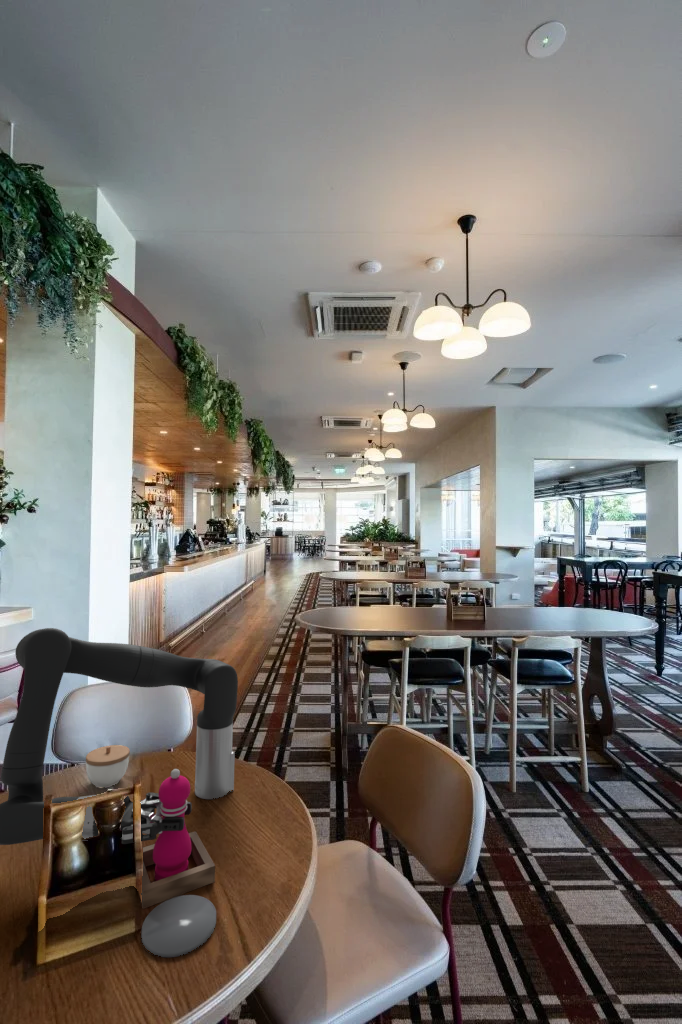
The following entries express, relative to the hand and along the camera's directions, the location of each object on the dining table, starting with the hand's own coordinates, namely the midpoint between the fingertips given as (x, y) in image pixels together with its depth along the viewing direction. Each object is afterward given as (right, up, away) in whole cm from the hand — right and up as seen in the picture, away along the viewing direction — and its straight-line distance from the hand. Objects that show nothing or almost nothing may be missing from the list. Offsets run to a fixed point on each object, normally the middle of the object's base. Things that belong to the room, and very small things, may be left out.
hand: (187, 815), depth 95 cm
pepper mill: (-3, -11, -1) cm, 12 cm away
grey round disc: (+3, -10, -14) cm, 17 cm away
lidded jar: (-33, -13, +34) cm, 49 cm away
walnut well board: (-3, -11, -1) cm, 11 cm away
